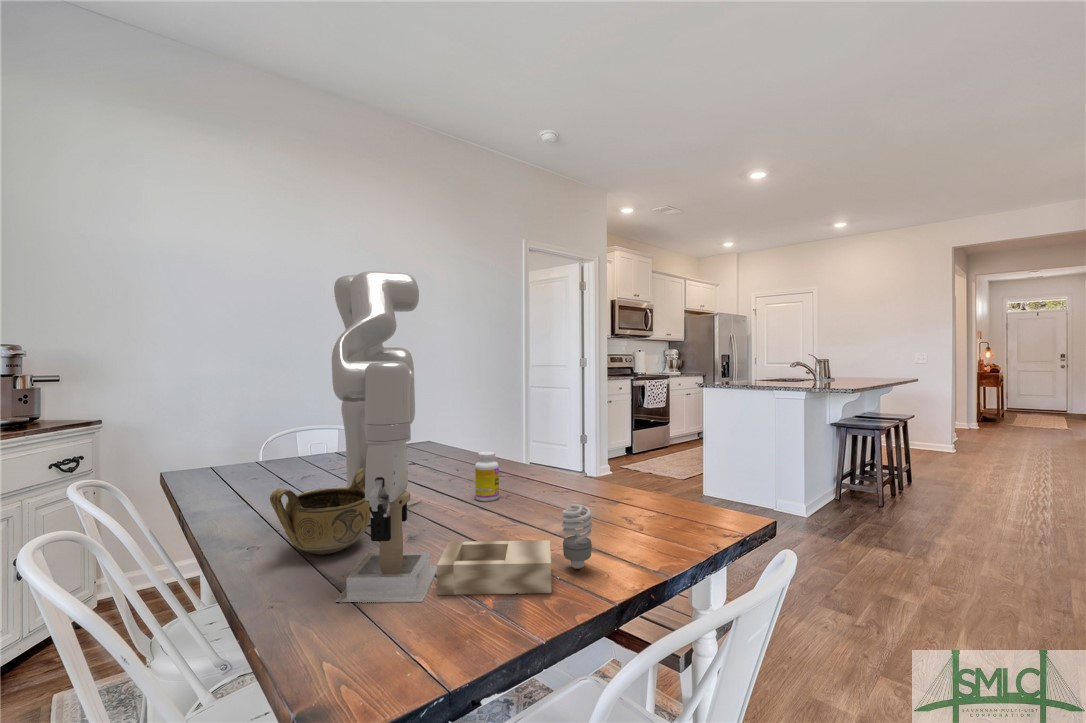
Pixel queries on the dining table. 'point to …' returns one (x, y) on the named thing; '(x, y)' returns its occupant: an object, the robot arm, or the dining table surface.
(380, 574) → the tray
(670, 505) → the dining table surface
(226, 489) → the dining table surface
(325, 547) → the ceramic bowl
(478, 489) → the supplement bottle
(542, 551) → the block
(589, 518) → the light bulb
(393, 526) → the handle
